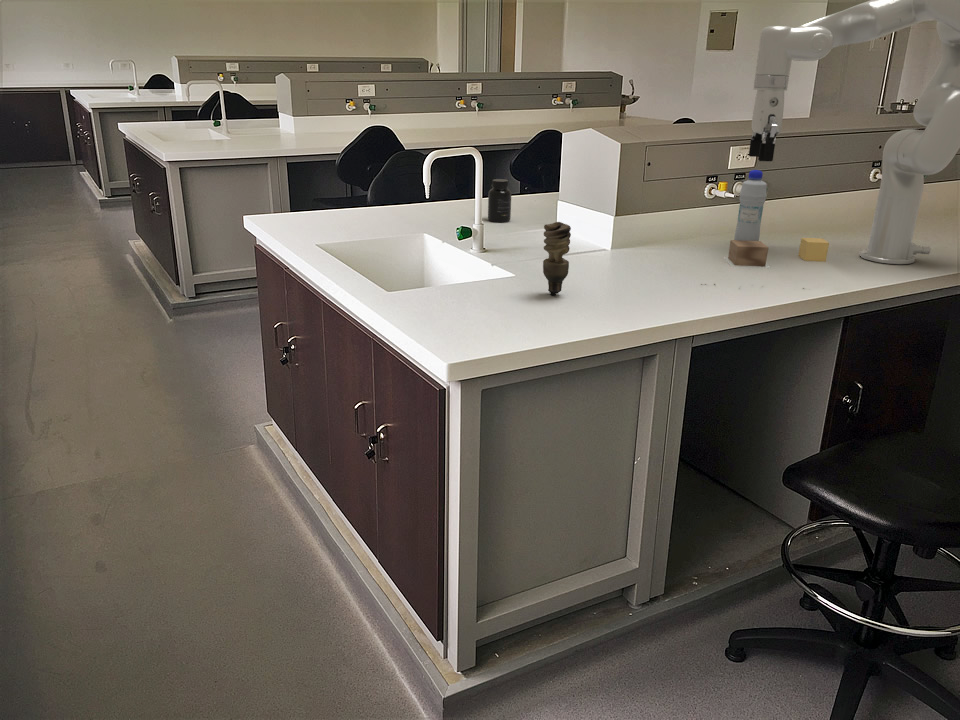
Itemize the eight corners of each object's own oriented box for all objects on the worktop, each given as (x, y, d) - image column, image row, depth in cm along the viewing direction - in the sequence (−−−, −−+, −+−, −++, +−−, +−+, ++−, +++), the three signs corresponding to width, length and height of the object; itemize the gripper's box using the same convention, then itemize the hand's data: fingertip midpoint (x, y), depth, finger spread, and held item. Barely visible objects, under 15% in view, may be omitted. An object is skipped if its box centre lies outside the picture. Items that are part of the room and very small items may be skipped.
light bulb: (534, 294, 162) (538, 221, 157) (551, 289, 166) (556, 218, 160) (555, 300, 158) (559, 225, 153) (572, 295, 162) (577, 222, 156)
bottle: (730, 247, 209) (740, 170, 202) (735, 242, 214) (745, 167, 207) (756, 250, 206) (768, 172, 199) (760, 245, 212) (772, 169, 204)
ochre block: (817, 262, 195) (822, 238, 193) (824, 267, 190) (829, 242, 188) (797, 261, 195) (801, 237, 193) (803, 266, 191) (807, 242, 188)
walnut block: (757, 259, 190) (760, 241, 188) (765, 266, 183) (768, 247, 182) (728, 258, 190) (730, 239, 189) (734, 265, 184) (737, 246, 182)
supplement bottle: (483, 219, 237) (484, 178, 233) (504, 218, 240) (505, 178, 236) (493, 223, 231) (495, 182, 227) (514, 222, 234) (516, 181, 230)
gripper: (798, 84, 175) (786, 163, 181) (777, 83, 191) (767, 155, 197) (763, 84, 176) (752, 162, 182) (746, 82, 192) (736, 154, 198)
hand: (760, 158), depth 190 cm, fingers open, 9 cm apart
